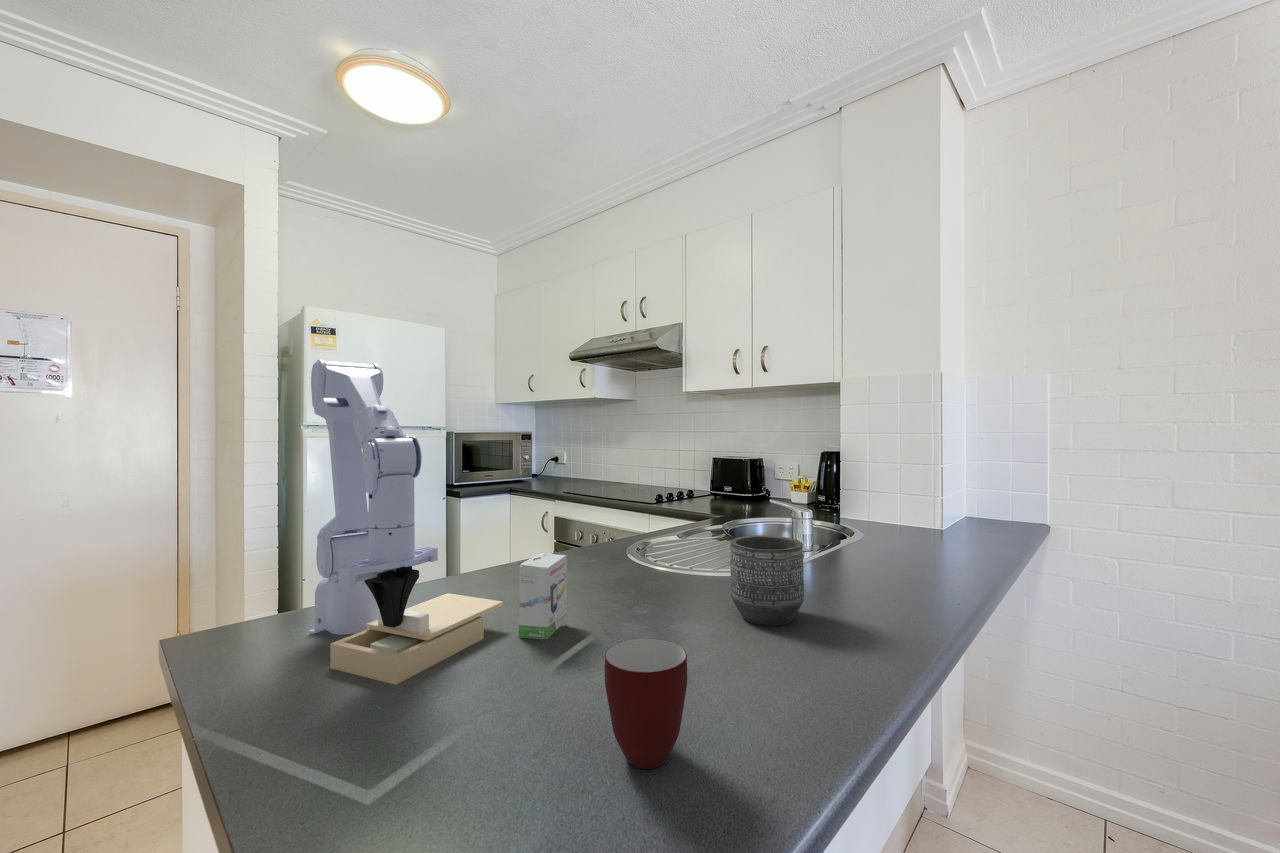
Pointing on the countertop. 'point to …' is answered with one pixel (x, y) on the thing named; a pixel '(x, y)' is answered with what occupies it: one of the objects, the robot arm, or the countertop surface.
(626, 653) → the mug
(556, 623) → the ink box
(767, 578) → the planter
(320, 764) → the countertop surface
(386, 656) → the tray
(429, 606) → the mailer lid
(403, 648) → the soap bar
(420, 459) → the robot arm
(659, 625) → the countertop surface
